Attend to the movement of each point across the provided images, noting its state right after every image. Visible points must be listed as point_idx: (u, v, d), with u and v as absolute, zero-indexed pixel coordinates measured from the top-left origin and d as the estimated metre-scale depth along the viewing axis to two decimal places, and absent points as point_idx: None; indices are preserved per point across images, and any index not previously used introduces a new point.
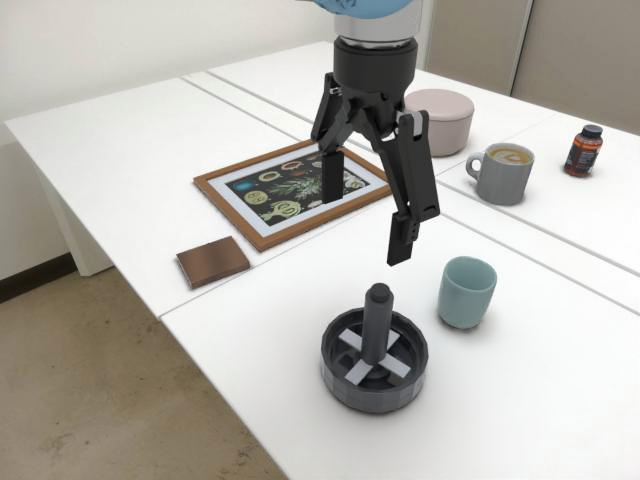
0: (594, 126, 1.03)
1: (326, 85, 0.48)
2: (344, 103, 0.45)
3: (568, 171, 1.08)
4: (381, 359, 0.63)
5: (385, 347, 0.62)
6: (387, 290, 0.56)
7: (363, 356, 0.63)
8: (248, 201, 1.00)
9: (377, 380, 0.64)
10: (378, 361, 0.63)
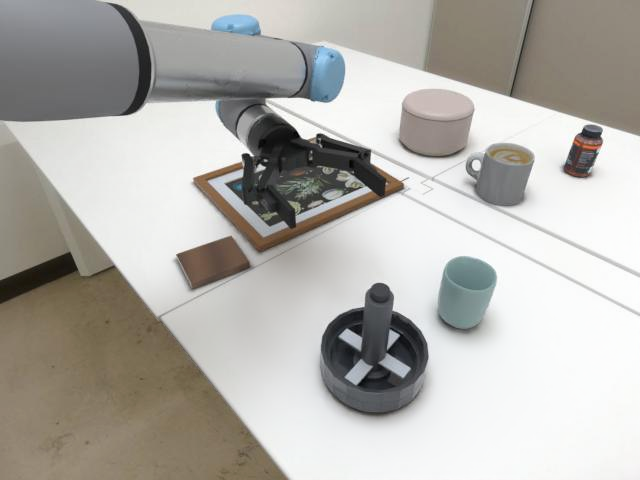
0: (594, 126, 1.03)
1: (246, 157, 0.65)
2: (275, 145, 0.66)
3: (568, 171, 1.08)
4: (381, 359, 0.63)
5: (385, 347, 0.62)
6: (387, 290, 0.56)
7: (363, 356, 0.63)
8: None
9: (377, 380, 0.64)
10: (378, 361, 0.63)
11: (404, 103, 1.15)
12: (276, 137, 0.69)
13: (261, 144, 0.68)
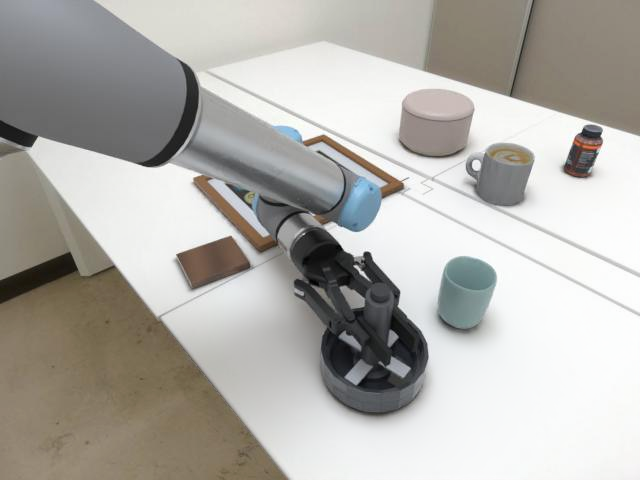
0: (594, 126, 1.03)
1: (301, 284, 0.64)
2: (320, 265, 0.66)
3: (568, 171, 1.08)
4: None
5: None
6: (387, 290, 0.56)
7: (363, 356, 0.63)
8: (248, 201, 1.00)
9: (377, 380, 0.64)
10: (378, 361, 0.63)
11: (404, 103, 1.15)
12: (320, 252, 0.68)
13: (305, 260, 0.68)
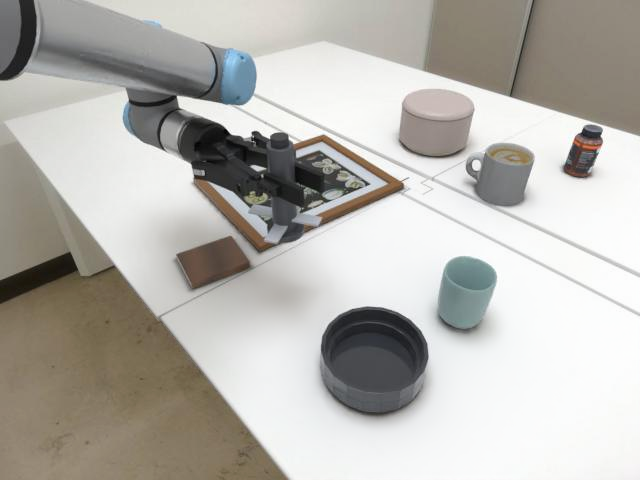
0: (594, 126, 1.03)
1: (199, 163, 0.64)
2: (213, 145, 0.67)
3: (568, 171, 1.08)
4: (293, 217, 0.66)
5: None
6: (286, 135, 0.59)
7: (276, 218, 0.66)
8: (248, 201, 1.00)
9: (294, 239, 0.67)
10: (291, 219, 0.66)
11: (404, 103, 1.15)
12: (210, 137, 0.69)
13: (196, 147, 0.68)
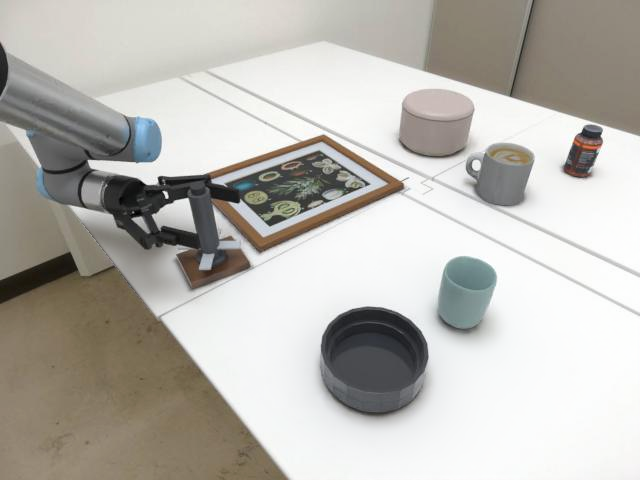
0: (594, 126, 1.03)
1: (119, 215, 0.76)
2: (136, 197, 0.78)
3: (568, 171, 1.08)
4: (217, 245, 0.81)
5: (217, 233, 0.81)
6: (202, 184, 0.75)
7: (204, 249, 0.81)
8: (248, 201, 1.00)
9: (222, 262, 0.83)
10: (216, 247, 0.81)
11: (404, 103, 1.15)
12: (130, 191, 0.80)
13: (120, 201, 0.79)
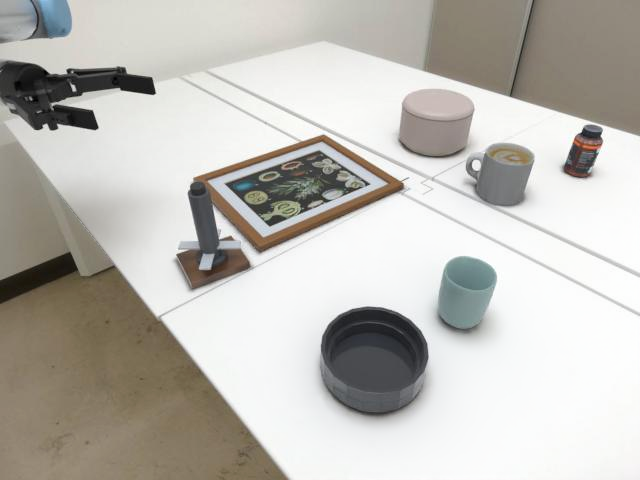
0: (594, 126, 1.03)
1: (10, 97, 0.67)
2: (34, 81, 0.70)
3: (568, 171, 1.08)
4: (217, 245, 0.81)
5: (217, 233, 0.81)
6: (202, 184, 0.75)
7: (204, 249, 0.81)
8: (248, 201, 1.00)
9: (222, 262, 0.83)
10: (216, 247, 0.81)
11: (404, 103, 1.15)
12: (29, 77, 0.72)
13: (17, 87, 0.71)
